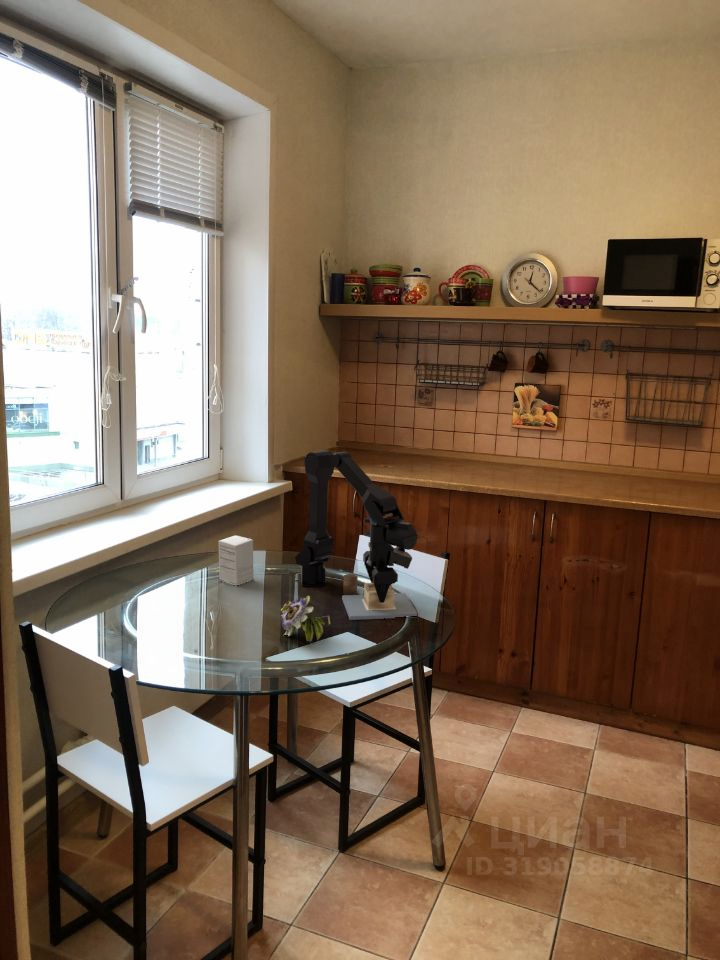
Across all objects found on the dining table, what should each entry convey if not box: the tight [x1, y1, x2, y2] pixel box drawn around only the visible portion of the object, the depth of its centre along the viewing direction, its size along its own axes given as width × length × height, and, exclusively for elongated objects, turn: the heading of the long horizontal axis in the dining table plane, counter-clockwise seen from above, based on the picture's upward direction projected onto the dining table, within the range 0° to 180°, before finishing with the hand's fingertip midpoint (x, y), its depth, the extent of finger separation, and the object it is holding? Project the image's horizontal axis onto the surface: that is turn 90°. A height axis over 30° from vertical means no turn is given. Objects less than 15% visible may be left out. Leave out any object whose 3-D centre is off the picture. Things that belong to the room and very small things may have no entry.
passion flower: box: [280, 595, 331, 642], centre depth 192 cm, size 11×11×12 cm
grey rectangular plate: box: [341, 592, 418, 621], centre depth 211 cm, size 18×15×1 cm
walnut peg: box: [342, 573, 359, 595], centre depth 221 cm, size 4×4×5 cm
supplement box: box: [217, 535, 255, 586], centre depth 227 cm, size 7×7×13 cm
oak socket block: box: [363, 582, 396, 609], centre depth 210 cm, size 7×7×5 cm
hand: (378, 596), depth 210 cm, fingers open, 9 cm apart
